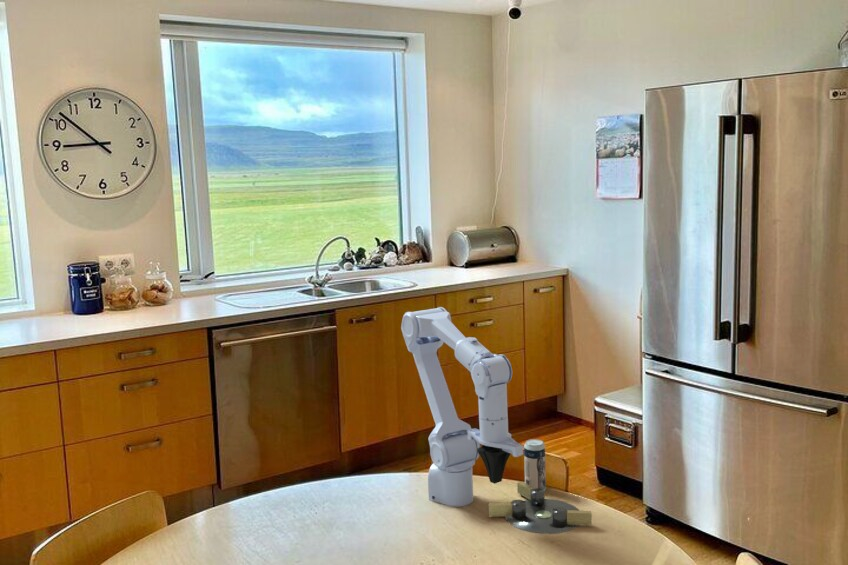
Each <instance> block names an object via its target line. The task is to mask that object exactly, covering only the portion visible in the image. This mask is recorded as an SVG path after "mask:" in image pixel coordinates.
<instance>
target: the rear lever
mask: <svg viewBox="0 0 848 565" xmlns="http://www.w3.org/2000/svg"><path fill="white" fill-rule="evenodd" d="M516 487H517V494H518V495H521V496H523V497H524V498H526V500H530V502H531V505H532V506H536V507H540V506H543V505H544V504H545V499H546V498H545V491H544V490H543V489H539V488H533V487H531V486H529V485H527V484H526V483H525V481H524V482H523V481H518V482H517V486H516Z"/></svg>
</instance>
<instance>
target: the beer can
mask: <svg viewBox="0 0 848 565" xmlns="http://www.w3.org/2000/svg"><path fill="white" fill-rule="evenodd" d="M523 458H524V461H523V462H524V465H523V466H524V483H526V484H527V485H529V486H531V487H533V488H539V489H543V490H544V492H546V489H547V486H546V484H547V482H546V480H547V479H546V478H547V477H546V474H547V473H546V444H545V443H544V441H543V440H542V439H537V438H536V439H535V438H533V439H532V438H531V439H528V440H526V441H525V443H524V445H523Z"/></svg>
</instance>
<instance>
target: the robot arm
mask: <svg viewBox="0 0 848 565" xmlns="http://www.w3.org/2000/svg"><path fill="white" fill-rule="evenodd" d="M400 329H401V332H402V336H403V340H404V342H405V346H406V347H407V348H406V349H407V350H408V352H409V353H412V355H413V359H414V363H415V366H416V368H417V372H418V376H419V379H420V381H421V384H422V387H423V390H424V393H425V395H426V396H425V397H426V399H427V403H428V405H429V408H430V411H431V415H432V417H433V421H434V423H435V424H434V425H435V427H434V428H433V429H432V431H431V432H430V434H429V436H428V444H429V451H430V452H429V453H430V454H429V455H430V458H431V460H432V462H433V463H432V464H431V465H430V467H429V470H428V474H427V487H428V488H427V489H428V490H427V491H428V492H427V493H428V501H432V502H435V503H440V504H443V505H445V506H449V507H464V506H468V505H470V504H471V503H473V501H474V484H473V482H474V481H473V476H474V475H473V467H474V466H475V465H476V460H478V459H479V457H480V458H481V460H482V462H483V464H484V467H485V470H486V472H487V476H488V479H489V482H490V483H491V484H494V485H495V484H497V483H501V482H502V481H503V476H504V472H505V468H506V465H507V462H508V460H509V457H510V456H511V455H512V457H514V458H518V457H521V456H524V445H523V444H520V443H519V442H517V441H516V440H515V439H514V438H512V433H510V432H509V418H508V415H509V414H508V389H507V388H508V386H507V384H508V383H510V381H511V380H512V377H513V368H512V364H511V362H510V360H509V358H507V356H506V355H505V354H497V353H492V352H491V351H490V350H489V349H488V348H486V347H485V346H484V345H483V344H482V343H481V342H479V341H478V340H479V339H477V338H476V337H475V336H474V337H472V336H468V337H466V336H465V335H464V334H463V333H462V332H461V331H460V330H459V329H458V328H457V327H456V325H455V324H454V323H453V322H452V317H451V313H450V312H449V311H447V309H446V308H444V307H443V306H437V308H436V307H435V308H429V309H423V310H416V311H406V312H404V314H403V316H402V320H401V326H400ZM444 344H446V345H447V346H448V347H449V348H451V349H453V351H454V357H455V359H456V360H457V361H458V362H459V363H460V364H461V365H462V366H463V367H464V368H465V369H467V370H468V371H469V372H470V376H471V379H472V381H473V382H472V383H473V385H474V388H475V389H474V392H475V395H476V396H477V397H478V398H477V399H478V400H477V402H478V422H479V423H478V424H479V429H478V428H472V427H471V425H470V423H467V422H465V421H463V420H461V419H460V418H459V417H458V414H457V411H456V408H455V404H454V401H453V398H452V395H451V393H450V390H449V387H448V383H447V382H446V378H445V375H444V372H443V368H442V367H441V363H440V361H439V357H438V354H437V353H438V349H439V348H441V347H442V346H443V345H444Z"/></svg>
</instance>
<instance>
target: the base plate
mask: <svg viewBox="0 0 848 565" xmlns="http://www.w3.org/2000/svg"><path fill="white" fill-rule="evenodd" d="M524 501H525V502H526V517H525V518H522V519H516V518H513V517H512V516H504V518H505V520H506V521H507V523H508V524H510V525H511V526H512V527H514V528H516V529H518V530H520V531H523V532H527V533H532V534H540V535H542V534H545V535H548V534H549V535H551V534H552V535H553V534H561V533H566V532H568V531H571V530H574V529H576V528H577V527H578V526H579V525H578V524H568V525H567V526H566V527H556V526H554V525H553V518H552V510H553V509H554V508H565V509H567V510H576V511H581V510H580V509H579V508H578V507H576V506H574V505H573V504H571V503H568V502H565V501H563V500H558V499H551V498H545V504H544V505H543V506H540V507H536V506H532V505H531V502H530V500H529V499H525V500H524Z"/></svg>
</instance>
